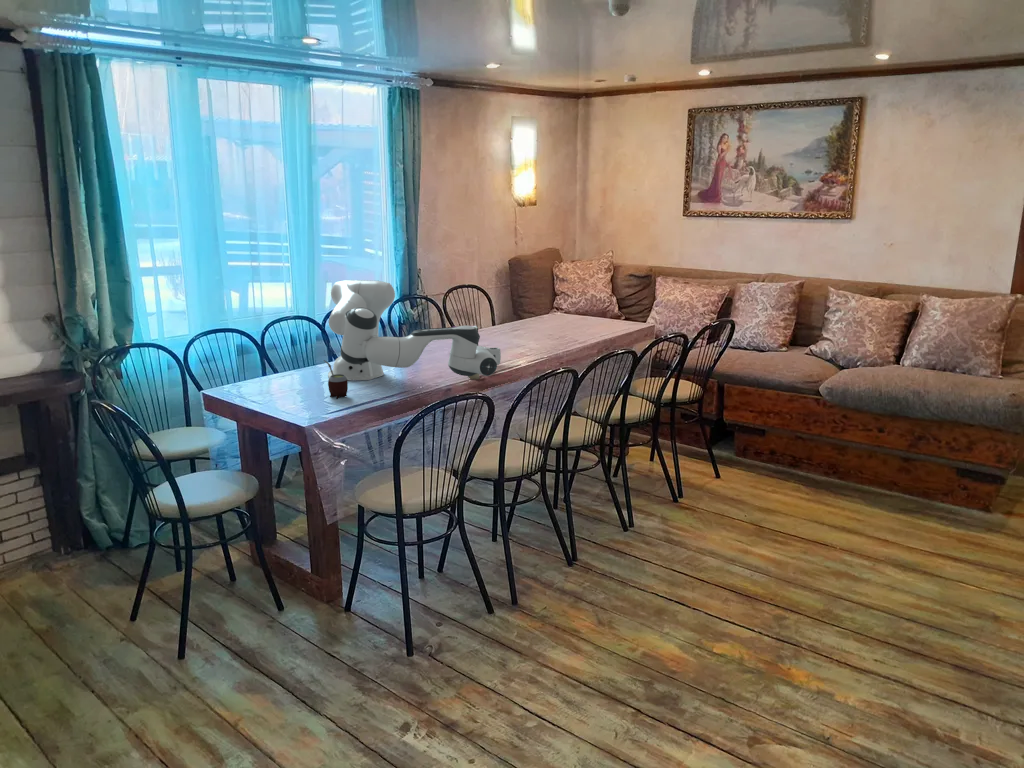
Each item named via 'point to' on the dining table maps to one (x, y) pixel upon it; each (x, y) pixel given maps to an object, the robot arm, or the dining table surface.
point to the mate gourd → (337, 384)
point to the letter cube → (474, 376)
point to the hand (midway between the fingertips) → (471, 350)
